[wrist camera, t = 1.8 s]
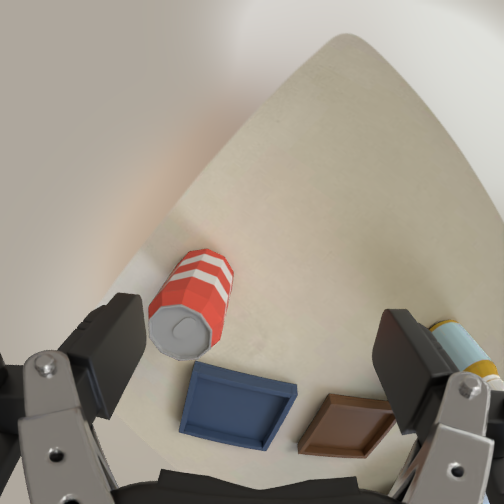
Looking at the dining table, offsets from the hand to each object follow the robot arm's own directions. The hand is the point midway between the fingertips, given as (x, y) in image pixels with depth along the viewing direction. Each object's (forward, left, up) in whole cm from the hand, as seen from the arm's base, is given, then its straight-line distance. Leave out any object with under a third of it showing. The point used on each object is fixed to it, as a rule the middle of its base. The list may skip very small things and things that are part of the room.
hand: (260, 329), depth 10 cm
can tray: (+4, -28, -23) cm, 37 cm away
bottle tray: (+22, -28, -23) cm, 43 cm away
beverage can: (-4, -9, -24) cm, 26 cm away
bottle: (+28, -10, -23) cm, 38 cm away
